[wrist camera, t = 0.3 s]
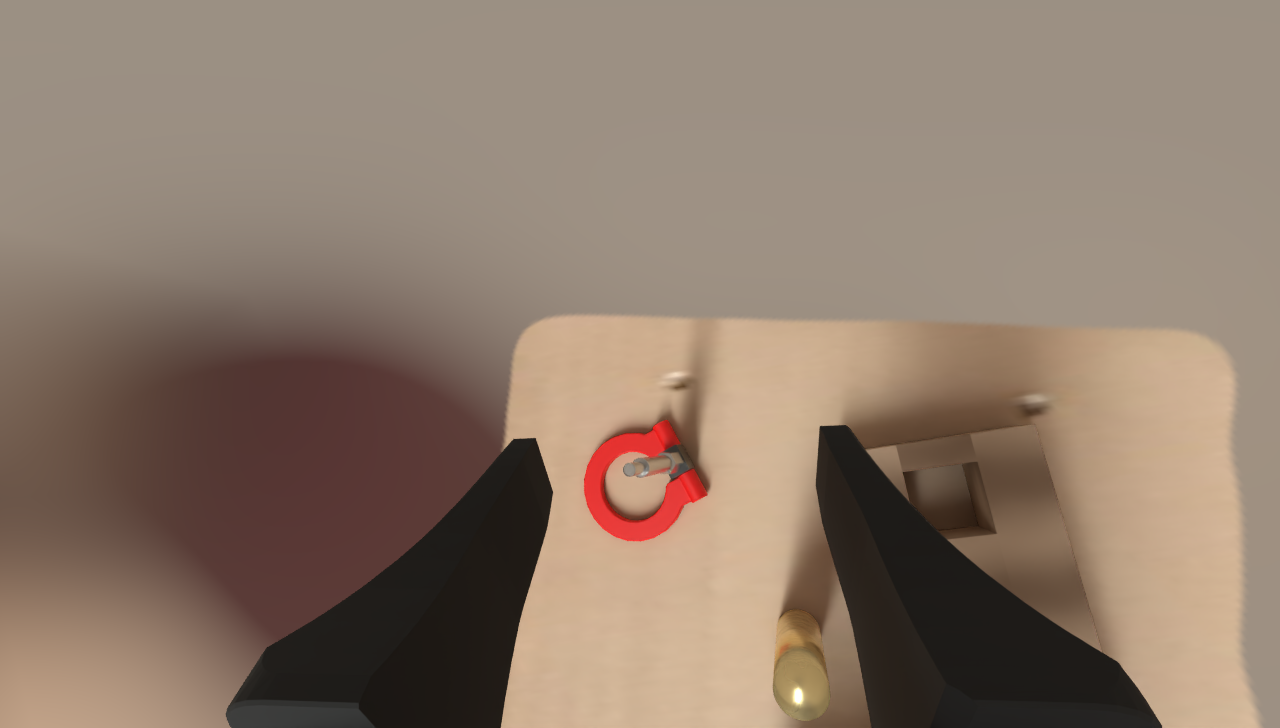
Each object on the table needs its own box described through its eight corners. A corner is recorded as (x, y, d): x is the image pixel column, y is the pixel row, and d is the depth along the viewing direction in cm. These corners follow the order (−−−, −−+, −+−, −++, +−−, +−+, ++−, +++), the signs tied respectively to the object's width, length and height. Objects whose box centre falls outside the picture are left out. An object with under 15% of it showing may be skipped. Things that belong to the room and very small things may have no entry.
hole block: (1105, 745, 34) (1139, 778, 30) (899, 751, 37) (910, 782, 33) (1013, 426, 38) (1035, 424, 34) (833, 453, 40) (837, 454, 37)
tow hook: (617, 556, 44) (716, 504, 42) (541, 603, 32) (675, 532, 30) (573, 463, 46) (665, 409, 44) (485, 473, 34) (608, 399, 32)
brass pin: (824, 652, 39) (835, 719, 29) (781, 655, 39) (778, 722, 30) (815, 607, 39) (823, 659, 30) (773, 611, 40) (768, 663, 30)
